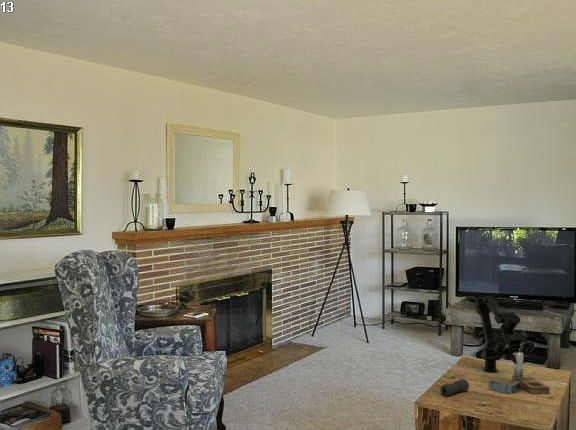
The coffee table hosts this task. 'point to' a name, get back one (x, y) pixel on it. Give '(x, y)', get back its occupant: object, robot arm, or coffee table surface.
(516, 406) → the coffee table surface
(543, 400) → the coffee table surface
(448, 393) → the flashlight
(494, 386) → the v block
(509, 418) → the coffee table surface
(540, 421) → the coffee table surface
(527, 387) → the slotted block
